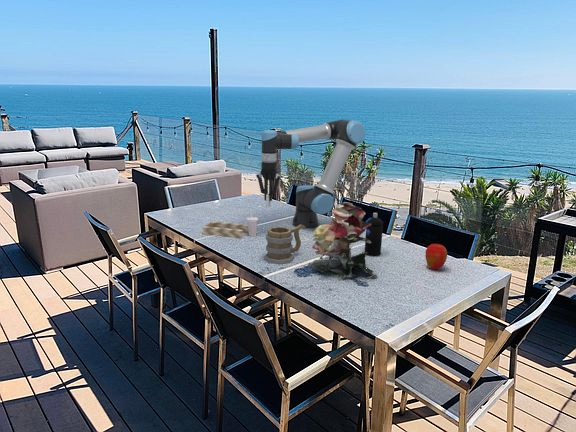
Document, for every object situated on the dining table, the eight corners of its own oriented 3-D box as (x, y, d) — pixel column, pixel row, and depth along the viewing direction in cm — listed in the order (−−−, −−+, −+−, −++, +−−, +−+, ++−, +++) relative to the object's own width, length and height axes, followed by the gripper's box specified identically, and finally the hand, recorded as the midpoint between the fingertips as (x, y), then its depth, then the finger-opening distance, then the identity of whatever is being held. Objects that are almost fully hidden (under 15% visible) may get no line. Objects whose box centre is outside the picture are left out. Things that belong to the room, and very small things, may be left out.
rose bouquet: (351, 255, 208) (355, 193, 200) (383, 278, 181) (389, 208, 174) (301, 260, 200) (302, 196, 192) (326, 286, 173) (329, 212, 166)
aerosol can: (382, 251, 213) (385, 212, 207) (380, 257, 205) (383, 216, 200) (365, 249, 215) (368, 210, 210) (362, 255, 208) (365, 214, 203)
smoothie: (246, 234, 237) (246, 208, 233) (258, 233, 237) (258, 208, 234) (246, 237, 231) (246, 212, 227) (258, 237, 231) (258, 211, 227)
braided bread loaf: (249, 231, 240) (249, 224, 239) (241, 238, 229) (241, 231, 228) (212, 228, 246) (212, 221, 245) (203, 234, 235) (202, 227, 234)
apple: (442, 274, 187) (445, 247, 184) (421, 269, 191) (424, 243, 188) (447, 267, 194) (450, 241, 191) (427, 263, 199) (429, 238, 196)
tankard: (272, 265, 193) (273, 233, 189) (261, 256, 204) (261, 225, 200) (311, 258, 202) (312, 227, 198) (298, 250, 213) (299, 220, 209)
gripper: (254, 161, 219) (253, 207, 225) (279, 163, 216) (278, 209, 222) (259, 159, 226) (258, 204, 232) (283, 161, 223) (282, 206, 229)
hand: (268, 206), depth 227 cm, fingers closed
